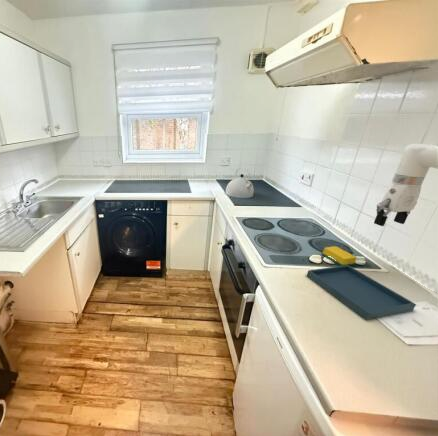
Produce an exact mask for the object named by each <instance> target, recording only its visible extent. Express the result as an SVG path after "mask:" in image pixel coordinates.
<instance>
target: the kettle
mask: <svg viewBox="0 0 438 436" xmlns="http://www.w3.org/2000/svg"><path fill="white" fill-rule="evenodd" d="M240 169H243V170H245V171H246V172H247V174H248V178H246V177H244V174H243V173H241V174H240V175H239V176H240V177H237V173H238V170H240ZM234 177H235V178H233V179H232V180H230V181H229V182H228V184H227V186H226V187H225V192H224V193H225V195H227V196H229V197H232V198H237V199H249V198H253V197H254V195H255V194H254V193H255V188H254V185H253V183H252V182H251V181H250V177H251V175H250V171H249V169H247V168H245V167H243V166H241V167H238V168H237V169H236V170H235V174H234Z"/></svg>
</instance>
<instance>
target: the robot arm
mask: <svg viewBox="0 0 438 436" xmlns="http://www.w3.org/2000/svg"><path fill="white" fill-rule="evenodd" d="M430 168H433V169H438V145H435V144H430V143H410V144H407V146H406V147H405V148H404V150H403V153H402V155H401V158H400V160H399V163H398V165H397V168H396V170H395V173H394V175H393V177H392V180H391V183H390V185H389V186H388V188H387V190H386V192H385V194H384V196H383V198H382V201H381V202H379V203H377V204H376V211H375V212H376V216H375V217H374V221H373V224H374V225H377V226H380V227H384V226H385V224H386V222H387V220H388V215H389V214H390V213H391V212H392V213H396V214H395V216H394V218H393V222H394V223H395V222H396V223H398V224H401V225H404V224H405V223H406V221H407V218H408V216H409V215H410V214H411V211H413V210H414V209H415V207H416V206H417V203H418V199H419V197H420V194H421V190H422V185H423V183H424V180H425V178H426V176H427V174H428V172H429V170H430Z"/></svg>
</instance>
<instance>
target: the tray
mask: <svg viewBox="0 0 438 436" xmlns="http://www.w3.org/2000/svg"><path fill="white" fill-rule="evenodd" d="M306 277H307V278H308V279H310V280H311V281H312V282H314V283H315V284H317V286H318V287H320V288H322V289H323V290H324V291H326V292H327V293H329V294H330V295H331V296H333V297H334V298H335V299H337V300H338V301H339V302H341V303H342V304H344V306H346V307H347V308H348V309H350V310H352V312H354V313H355V314H357V315H358V316H360V317H361V318H362V319H364V320H365V321H368V320H373V319H378V318H382V317H388V316H389V317H390V316H393V315H398V314H403V313H404V314H405V313H408V312H413V311H414V309H415V307H416V306H417V303H415V302H413V301H411V300H410V299H408V298H406V297H405V296H403V295H402V294H400V293H397V292H395V291H394V290H392V289H391V288H389V287H387V286H385V285H383V284H382V283H381V282H378V281H377V280H375V279H373V278H372V277H370V276H368V275H366V274H364V273H363V272H361V271H359V270H358V269H356V268H354V267H352V265H351V266H349V265H343V266H340V265H338V266H331V267H323V268H316V269H310V270H308V271H307V273H306Z"/></svg>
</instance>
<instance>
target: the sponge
mask: <svg viewBox="0 0 438 436" xmlns="http://www.w3.org/2000/svg"><path fill="white" fill-rule="evenodd" d="M321 255H322V256H323V257H325V258H326V259H328V260H330V261H331V262H333V263H334V264H336V265H338V266H343V265H349V266H351V267H352V266H354V265H355V264H356V261H357V258H358V257H357V256H356V255H353V253H349V252H348V251H346V250H344V249H342V248H340V247H338V246H337V245H335V246H326V247H324V248H323V251H322V254H321ZM328 256H331V257H333V258H334V259H335V260H336V261H335V260H334V259H332V258H330V257H328Z"/></svg>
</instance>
